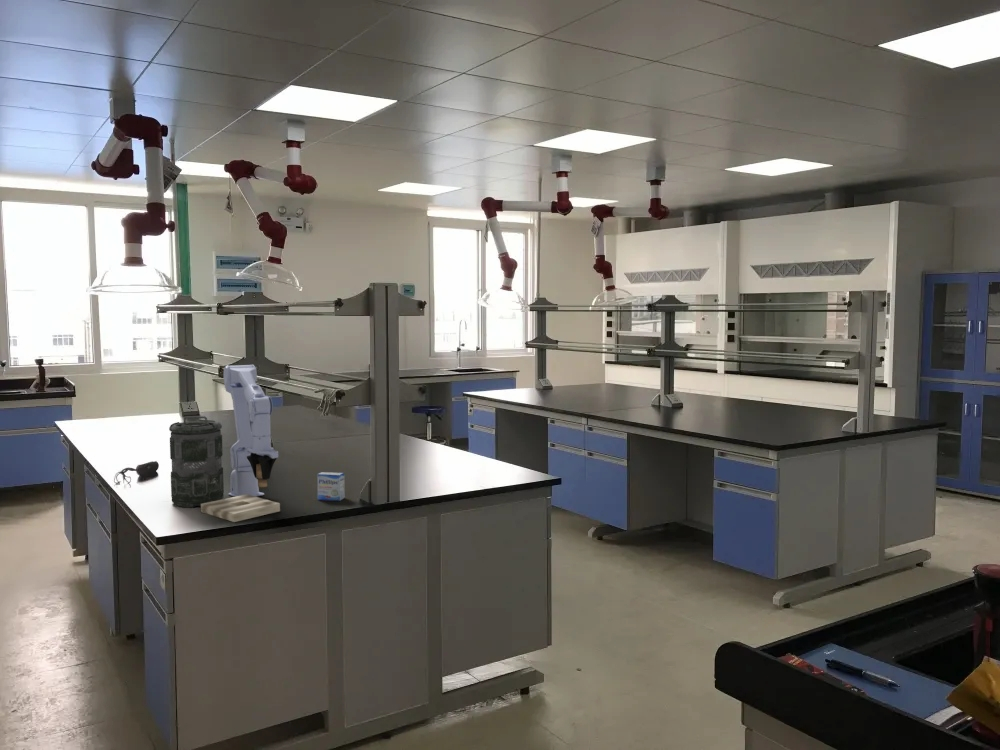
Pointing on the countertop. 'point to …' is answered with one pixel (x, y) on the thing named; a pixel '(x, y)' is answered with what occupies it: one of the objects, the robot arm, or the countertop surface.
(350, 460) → the countertop surface
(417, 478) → the countertop surface
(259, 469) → the peg
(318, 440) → the countertop surface
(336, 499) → the medicine box
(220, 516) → the board
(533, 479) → the countertop surface
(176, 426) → the canister
